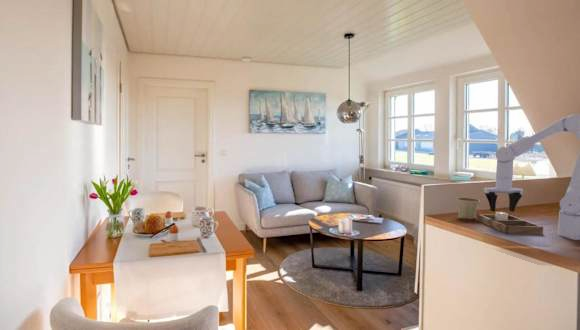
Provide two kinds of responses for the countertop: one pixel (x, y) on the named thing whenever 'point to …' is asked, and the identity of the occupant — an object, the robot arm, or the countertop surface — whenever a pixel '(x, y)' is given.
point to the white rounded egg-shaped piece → (501, 216)
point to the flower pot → (467, 207)
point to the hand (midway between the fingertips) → (502, 211)
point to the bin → (510, 225)
